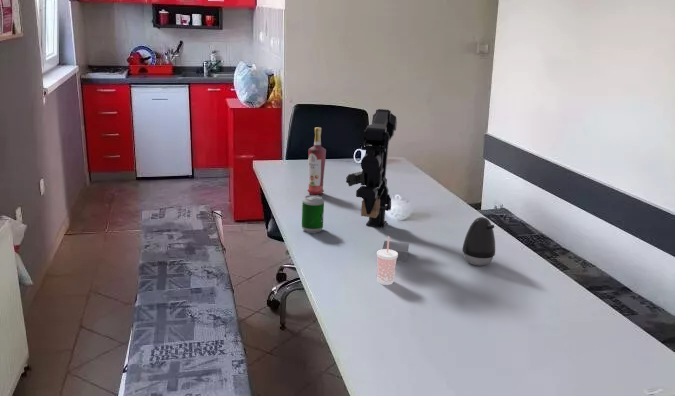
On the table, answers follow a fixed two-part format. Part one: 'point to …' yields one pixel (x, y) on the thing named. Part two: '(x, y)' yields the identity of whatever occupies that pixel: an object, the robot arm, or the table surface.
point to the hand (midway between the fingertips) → (370, 211)
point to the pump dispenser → (479, 242)
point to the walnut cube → (374, 211)
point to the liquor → (316, 165)
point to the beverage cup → (386, 265)
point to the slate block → (398, 249)
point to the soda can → (312, 213)
